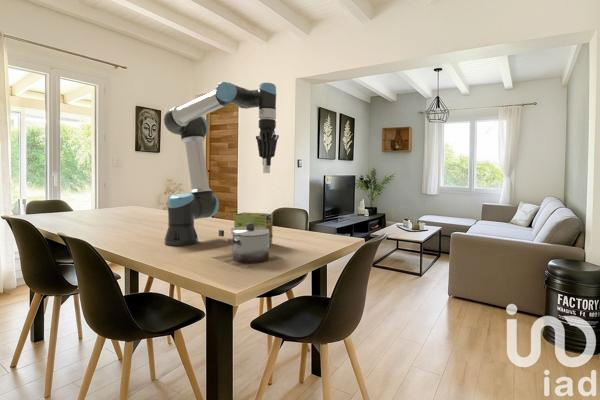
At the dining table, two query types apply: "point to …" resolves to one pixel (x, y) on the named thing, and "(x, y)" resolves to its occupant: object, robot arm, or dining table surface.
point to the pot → (249, 248)
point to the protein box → (255, 221)
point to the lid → (249, 231)
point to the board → (229, 259)
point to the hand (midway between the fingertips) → (266, 173)
